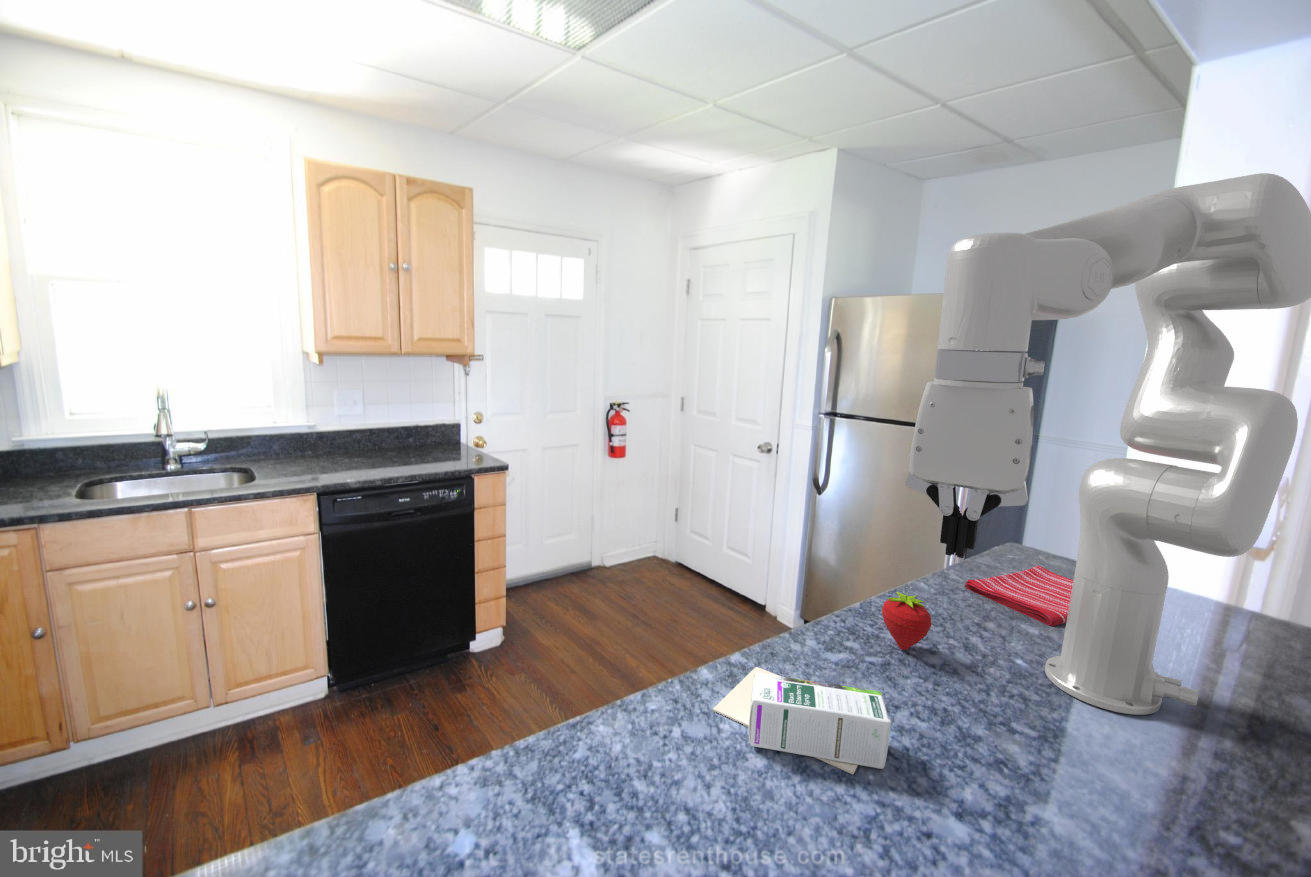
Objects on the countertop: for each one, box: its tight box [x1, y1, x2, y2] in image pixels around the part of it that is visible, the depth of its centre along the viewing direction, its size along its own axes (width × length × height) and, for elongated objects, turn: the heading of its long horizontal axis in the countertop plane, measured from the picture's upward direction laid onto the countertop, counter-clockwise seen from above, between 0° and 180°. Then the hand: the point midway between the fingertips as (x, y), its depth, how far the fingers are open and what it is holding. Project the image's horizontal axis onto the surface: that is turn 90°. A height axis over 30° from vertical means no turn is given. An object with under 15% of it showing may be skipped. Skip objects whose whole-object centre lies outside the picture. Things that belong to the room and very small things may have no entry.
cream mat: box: [712, 666, 859, 775], centre depth 70 cm, size 17×12×1 cm
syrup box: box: [748, 673, 892, 770], centre depth 65 cm, size 6×6×14 cm
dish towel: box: [964, 565, 1074, 627], centre depth 108 cm, size 17×24×3 cm
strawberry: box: [881, 586, 933, 651], centre depth 86 cm, size 6×8×10 cm
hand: (956, 552), depth 58 cm, fingers closed
